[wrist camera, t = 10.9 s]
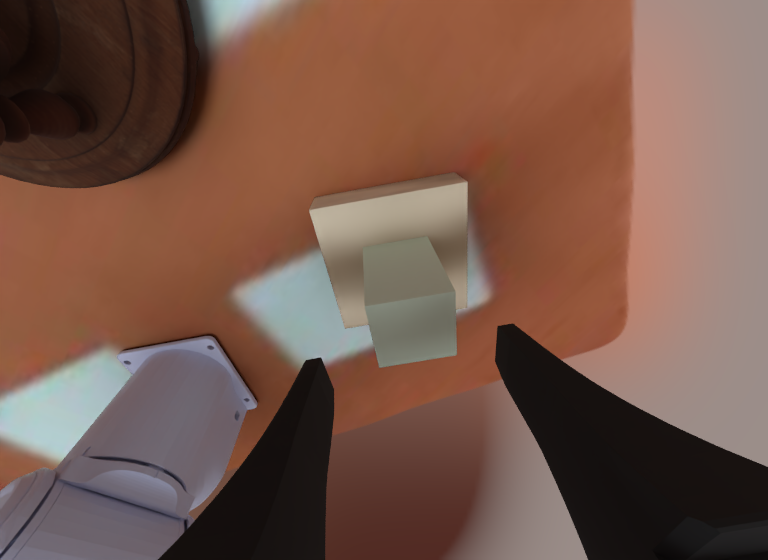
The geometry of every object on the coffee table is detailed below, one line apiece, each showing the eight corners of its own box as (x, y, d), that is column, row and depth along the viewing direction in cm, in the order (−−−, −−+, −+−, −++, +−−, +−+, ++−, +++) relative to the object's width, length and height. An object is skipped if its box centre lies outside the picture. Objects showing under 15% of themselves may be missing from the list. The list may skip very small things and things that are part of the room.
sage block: (431, 289, 20) (456, 354, 15) (373, 299, 20) (379, 367, 15) (427, 235, 17) (455, 291, 12) (362, 247, 18) (364, 306, 12)
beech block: (455, 285, 23) (467, 307, 21) (346, 303, 23) (345, 328, 21) (452, 170, 18) (467, 181, 16) (315, 195, 19) (308, 210, 16)
